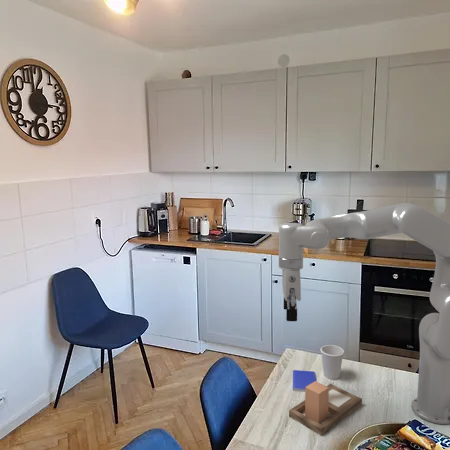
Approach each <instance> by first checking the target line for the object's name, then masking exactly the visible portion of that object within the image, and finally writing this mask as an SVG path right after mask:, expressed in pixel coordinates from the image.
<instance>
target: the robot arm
mask: <svg viewBox="0 0 450 450" xmlns="http://www.w3.org/2000/svg"><path fill="white" fill-rule="evenodd" d="M397 234H404V235H405V236H408V237H409V238H410V239H412V240H414V241H415V242H417V243H419V244H421V245H423V246H424V247H426V248H428V249H430V250H431V251H432V252H433V254H434V256H435V267H434V268H435V269H434V270H435V271H434V274H433V278H432V279H433V280H432V284H431V288H430V293H429V301H430V304H431V305H432V307H434V308H435V310H436V311H437V312H431V313H428V314H426V315H425V316H424V317H423V318H421V320H420V322H419V327H418V338H419V365H418V379H417V380H418V382H417V396H416V397H415V398H413V399H412V401H411V404H410V405H411V410H412V411H413V413H414V414H415V415H416V416H418V417H419V418H421V419H423V420H425V421H427V422H430V423H433V424H438V425H449V424H450V223H449V222H448V221H446V220H444V219H443V218H440V217H438V216H437V215H435V214H433V213H431V212H430V211H428V210H427V209H425V208H423V207H422V206H419V205H415V204H414V203H410V202H402V203H396V204H391V205H386V206H383V207H378V208H373V209H366V210H363V211H357V212H350V213H345V214H335V215H331V216H326V217H322V218H318V219H313V220H310V221H309V222H307V223H306V224H305V225H303V224H301V223H298V222H285V223H281V224H280V225H279V228H278V268H279V269H281V270H282V271H281V272H282V275H281V276H282V278H281V281H282V282H281V283H282V284H281V285H282V293H283V309H284V310H285V311H286V312H285V313H286V315H285V317H286V319H285V320H286V322H297V321H298V307H297V304H298V303H297V301H298V302H300V301H301V300H302V295H301V291H302V290H301V289H302V287H301V270H303V268H304V249H305V248H306V249H310V250H322V249H324V248H326V247H327V246H329V244H330V241H331V240H336V239H343V238H345V239H346V238H351V239H357V240H371V239H376V238H381V237H386V236H391V235H392V236H393V235H397Z"/></svg>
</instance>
